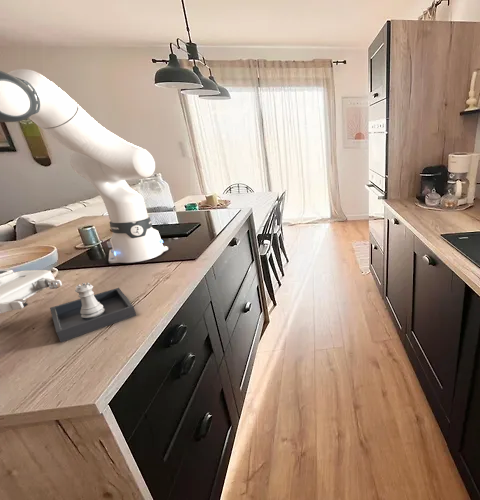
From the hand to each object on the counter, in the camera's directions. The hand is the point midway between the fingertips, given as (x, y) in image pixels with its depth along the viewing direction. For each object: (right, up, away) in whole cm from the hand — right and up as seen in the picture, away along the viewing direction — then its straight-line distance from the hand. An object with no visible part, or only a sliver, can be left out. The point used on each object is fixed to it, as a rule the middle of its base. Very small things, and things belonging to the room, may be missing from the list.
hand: (42, 293), depth 67 cm
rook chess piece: (+9, -6, +3) cm, 11 cm away
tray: (+9, -6, +4) cm, 11 cm away
